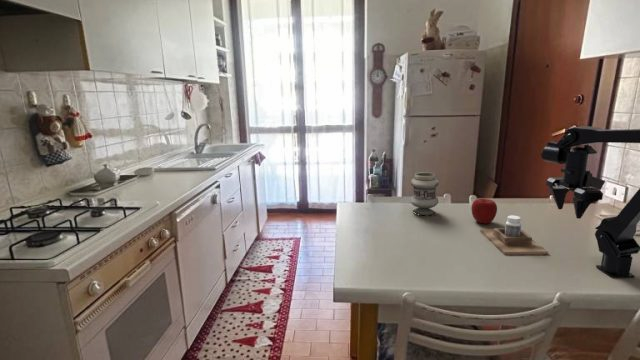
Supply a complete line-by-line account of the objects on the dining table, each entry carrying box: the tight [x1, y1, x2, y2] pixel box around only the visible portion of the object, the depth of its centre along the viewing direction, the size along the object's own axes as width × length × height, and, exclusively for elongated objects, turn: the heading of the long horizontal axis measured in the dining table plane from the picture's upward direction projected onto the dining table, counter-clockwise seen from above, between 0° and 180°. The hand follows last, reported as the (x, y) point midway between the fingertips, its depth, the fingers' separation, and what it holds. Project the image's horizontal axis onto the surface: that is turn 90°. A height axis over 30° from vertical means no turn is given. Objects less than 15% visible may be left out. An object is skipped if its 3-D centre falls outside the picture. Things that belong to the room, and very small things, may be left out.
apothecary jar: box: [410, 171, 440, 217], centre depth 156 cm, size 12×12×18 cm
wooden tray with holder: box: [479, 227, 549, 256], centre depth 124 cm, size 20×14×4 cm
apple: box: [471, 198, 498, 225], centre depth 143 cm, size 10×10×10 cm
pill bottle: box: [504, 215, 522, 237], centre depth 123 cm, size 5×5×8 cm
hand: (569, 213), depth 114 cm, fingers open, 9 cm apart
